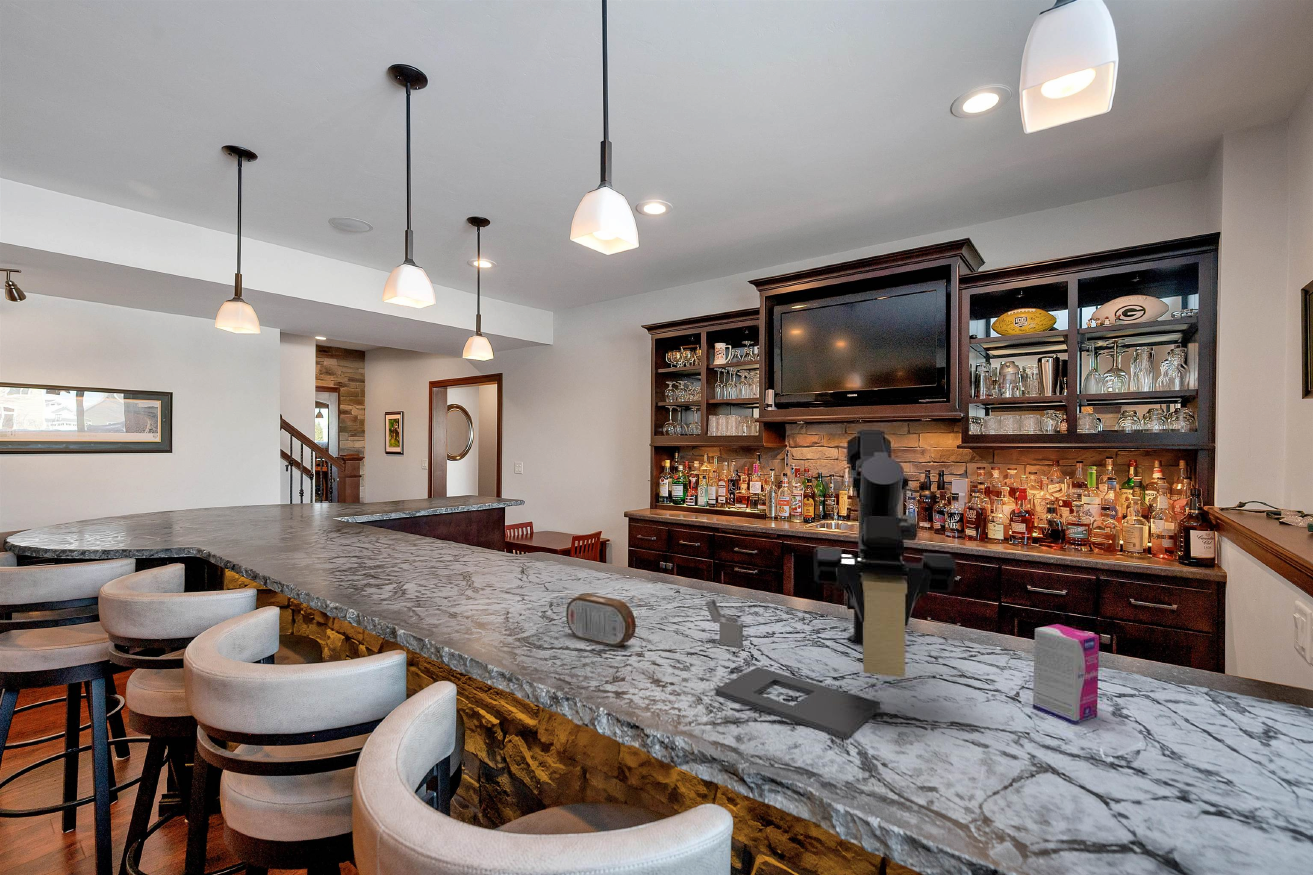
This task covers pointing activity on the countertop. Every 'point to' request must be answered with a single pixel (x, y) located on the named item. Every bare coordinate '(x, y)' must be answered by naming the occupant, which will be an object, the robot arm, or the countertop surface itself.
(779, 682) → the grey plate with hole
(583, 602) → the tin
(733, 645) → the lighter
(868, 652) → the tan square peg
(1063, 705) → the supplement box
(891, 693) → the countertop surface
